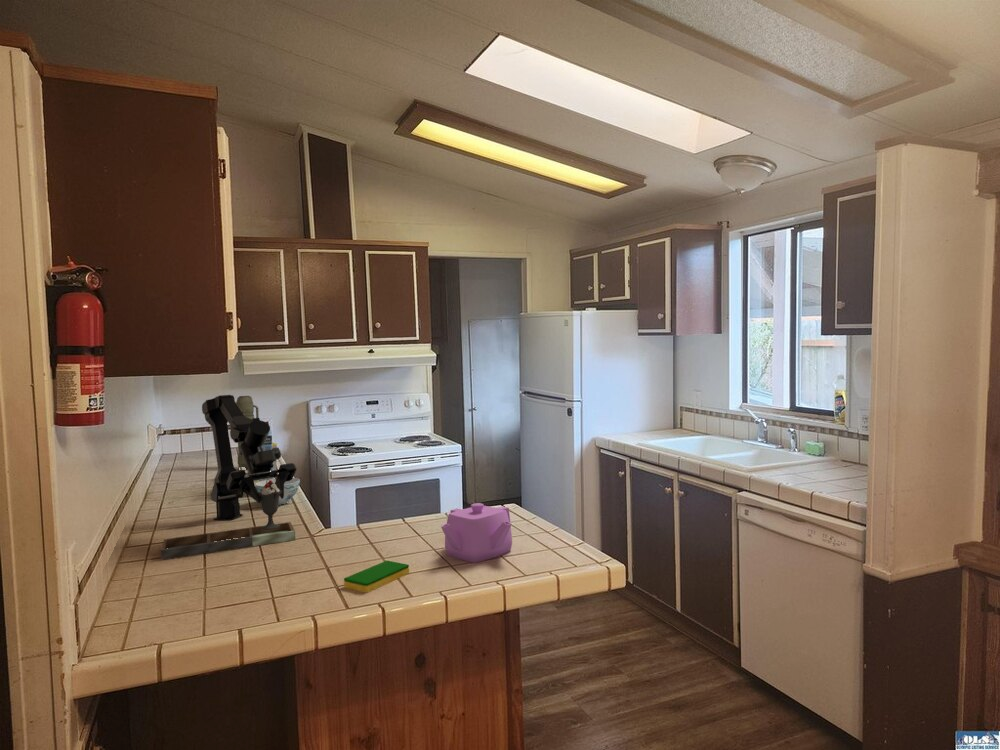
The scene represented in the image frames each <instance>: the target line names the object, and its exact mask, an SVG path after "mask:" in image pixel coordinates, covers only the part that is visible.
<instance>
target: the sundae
mask: <svg viewBox="0 0 1000 750" xmlns="http://www.w3.org/2000/svg"><path fill="white" fill-rule="evenodd" d="M268 477H269V476H268ZM268 477H267V479H268ZM268 480H269V479H268ZM281 493H282V491H281V490H279V488H278V485H276V484H275V483H273V481H270V480H269V482H268V483H267V481H266V484H265V486H264V487H263V489H262V491H261V492H259V493H258V494H259V496H260V499H261V502H260V505H261V509H262V512H263V513H264V514H265V515H267V516H268V517H267V518H268V519H267V520H268V521H267V522H266V523H267V524H266V526H265V525H262V526H263V527H262V529H264V530H270V529H276V528H279V527H280V525H277V524H278V523H275V522H274V520H273V516H274V515H275V514H276V512H277V511H278V509H279V505H278V502H279V495H280V494H281Z"/></svg>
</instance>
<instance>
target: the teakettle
mask: <svg viewBox="0 0 1000 750" xmlns="http://www.w3.org/2000/svg"><path fill="white" fill-rule="evenodd" d="M440 528H441V531H442V532H443V534H444V548H445V549H444V550H445V551H446V552H445V553H446V554H447V556H449V557H452V558H455V559H458V560H461V561H465V562H469V563H473V564H474V563H480V562H483V561H488V560H490V559H494V558H497V557H499V556H503V555H505V554H506V553H509V552H510V551H511V549H512V545H513V536H512V535H513V534H512V523H511V516H510V507H508V506H507V507H506V506H499V507H493V506H488V505H484V503H482V502H477V503H472V504H470V507H466V508H454V509H450V512H449V514H448V515H447V519H446V523H445V524H443V525H441V526H440Z"/></svg>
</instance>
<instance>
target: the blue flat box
mask: <svg viewBox="0 0 1000 750" xmlns="http://www.w3.org/2000/svg"><path fill="white" fill-rule="evenodd" d="M272 443H273V434H272V430H271V429H270V431H269V434H268V436H267V439H266V441H265V444H264V445H262V449H263V451H265V450H271V449H272V448H273V445H272ZM271 471H273V468H271ZM269 479H274V478H269ZM264 480H268V479H263V480H260V481H264ZM260 481H259V482H260Z"/></svg>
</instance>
